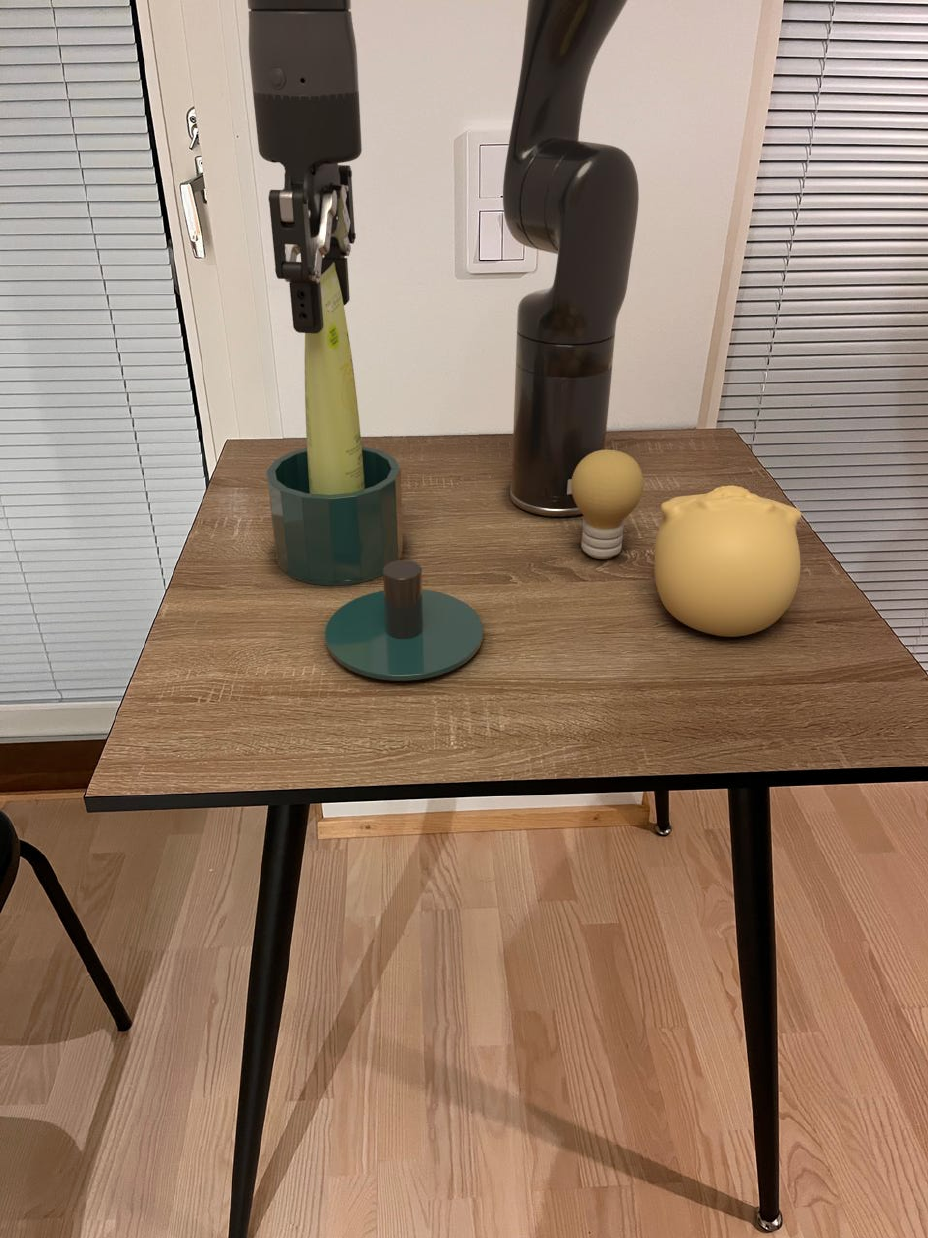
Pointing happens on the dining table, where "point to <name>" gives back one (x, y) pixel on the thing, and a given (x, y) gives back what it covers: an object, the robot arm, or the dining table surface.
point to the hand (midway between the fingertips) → (323, 317)
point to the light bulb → (606, 499)
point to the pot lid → (403, 629)
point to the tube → (332, 400)
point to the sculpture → (727, 560)
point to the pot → (336, 521)
